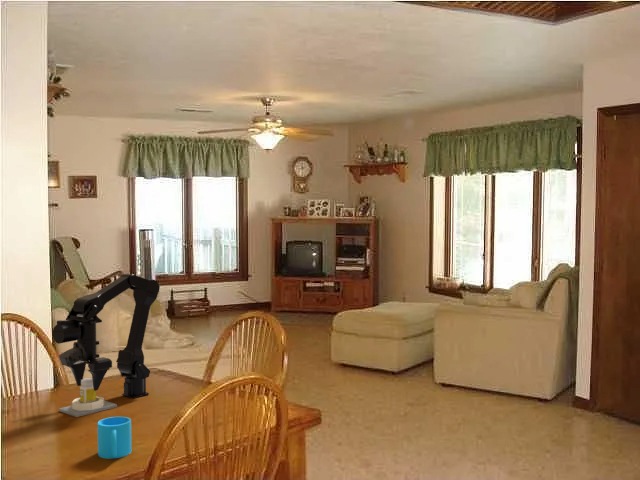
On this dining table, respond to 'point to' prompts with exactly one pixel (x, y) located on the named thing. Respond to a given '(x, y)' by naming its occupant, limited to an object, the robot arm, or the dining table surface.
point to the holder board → (80, 413)
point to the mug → (114, 437)
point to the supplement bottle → (87, 391)
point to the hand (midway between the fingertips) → (87, 388)
